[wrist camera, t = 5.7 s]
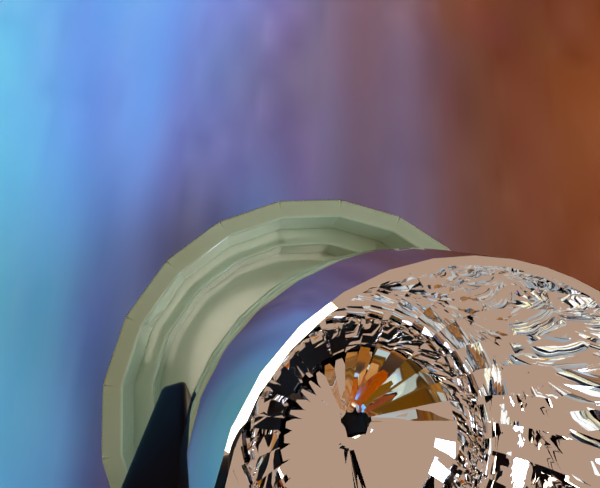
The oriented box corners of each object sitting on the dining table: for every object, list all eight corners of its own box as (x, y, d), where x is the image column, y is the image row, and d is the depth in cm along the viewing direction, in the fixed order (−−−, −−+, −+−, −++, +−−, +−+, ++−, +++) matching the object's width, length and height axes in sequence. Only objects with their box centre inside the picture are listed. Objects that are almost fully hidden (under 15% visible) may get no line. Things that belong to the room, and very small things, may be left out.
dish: (437, 623, 15) (487, 695, 12) (78, 536, 15) (33, 589, 11) (498, 274, 18) (552, 260, 14) (191, 188, 17) (179, 152, 14)
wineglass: (428, 360, 16) (888, 397, 5) (343, 530, 15) (685, 1168, 3) (276, 269, 16) (358, 83, 5) (178, 431, 15) (-40, 723, 3)
